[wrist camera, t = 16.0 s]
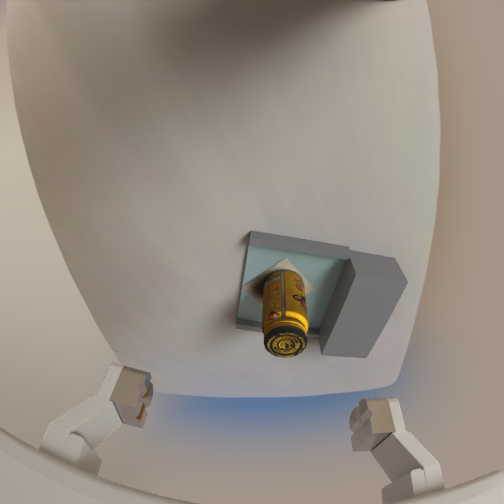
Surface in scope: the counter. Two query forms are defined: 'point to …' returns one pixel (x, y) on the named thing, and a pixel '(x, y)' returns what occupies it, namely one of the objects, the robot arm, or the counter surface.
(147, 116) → the counter surface
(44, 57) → the counter surface
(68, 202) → the counter surface
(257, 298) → the condiment
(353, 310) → the teal-floored tray
